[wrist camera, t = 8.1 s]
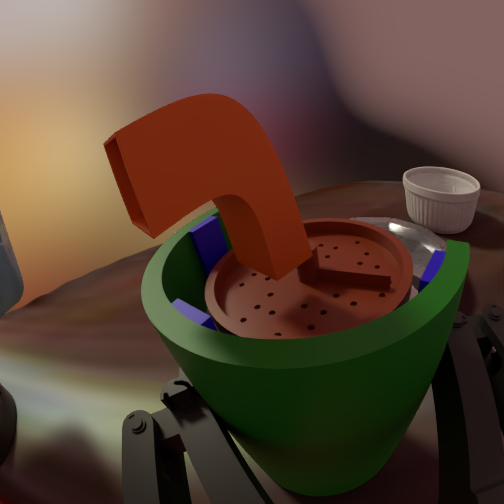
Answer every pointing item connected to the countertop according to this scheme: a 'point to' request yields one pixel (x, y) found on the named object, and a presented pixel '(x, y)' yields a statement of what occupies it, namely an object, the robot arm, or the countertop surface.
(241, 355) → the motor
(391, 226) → the tray
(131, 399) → the countertop surface
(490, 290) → the countertop surface
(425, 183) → the ramekin
